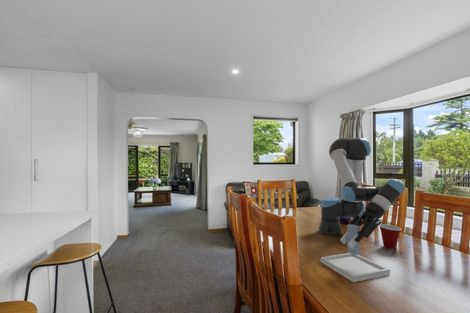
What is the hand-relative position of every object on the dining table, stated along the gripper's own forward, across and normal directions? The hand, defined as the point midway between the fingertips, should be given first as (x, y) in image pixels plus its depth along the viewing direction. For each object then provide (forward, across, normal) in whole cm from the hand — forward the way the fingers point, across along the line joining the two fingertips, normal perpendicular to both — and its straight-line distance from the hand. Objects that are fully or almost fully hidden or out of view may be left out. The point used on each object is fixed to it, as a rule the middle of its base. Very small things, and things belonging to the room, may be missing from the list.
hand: (346, 244), depth 106 cm
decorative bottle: (-27, +76, -42) cm, 90 cm away
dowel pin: (0, 0, -5) cm, 5 cm away
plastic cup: (-21, +20, -37) cm, 47 cm away
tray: (+5, +1, -11) cm, 12 cm away
